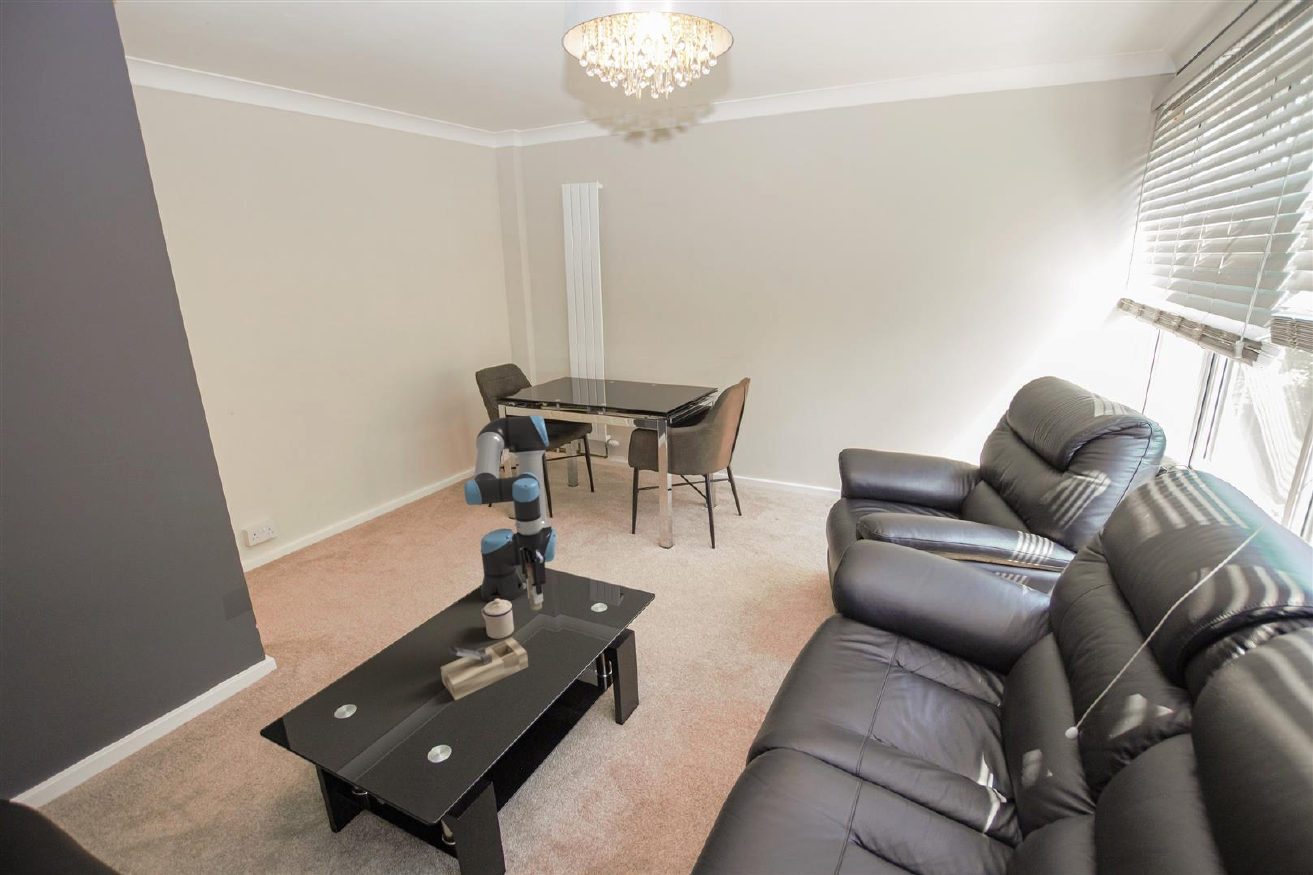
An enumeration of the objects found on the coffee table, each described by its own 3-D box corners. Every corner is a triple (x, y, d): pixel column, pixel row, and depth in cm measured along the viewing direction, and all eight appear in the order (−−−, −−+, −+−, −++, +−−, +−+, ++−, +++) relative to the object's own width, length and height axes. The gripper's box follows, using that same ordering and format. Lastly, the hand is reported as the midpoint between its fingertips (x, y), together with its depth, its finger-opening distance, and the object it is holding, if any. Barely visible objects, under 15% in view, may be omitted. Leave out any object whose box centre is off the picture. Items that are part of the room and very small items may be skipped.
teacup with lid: (520, 627, 193) (517, 596, 190) (500, 642, 185) (497, 610, 182) (493, 618, 199) (490, 587, 196) (473, 632, 191) (469, 600, 188)
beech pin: (527, 606, 182) (523, 563, 177) (539, 602, 184) (535, 559, 180) (533, 612, 179) (529, 568, 174) (545, 607, 181) (541, 564, 177)
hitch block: (442, 682, 168) (439, 660, 166) (513, 651, 181) (511, 630, 179) (455, 700, 160) (452, 677, 158) (528, 666, 173) (526, 645, 171)
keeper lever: (447, 649, 163) (448, 645, 163) (482, 655, 170) (483, 652, 170) (451, 654, 160) (452, 650, 161) (486, 660, 168) (488, 657, 168)
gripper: (505, 524, 178) (512, 593, 184) (530, 543, 166) (537, 615, 172) (528, 518, 182) (534, 584, 189) (554, 535, 170) (559, 606, 177)
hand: (535, 599), depth 181 cm, fingers closed on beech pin, 3 cm apart
